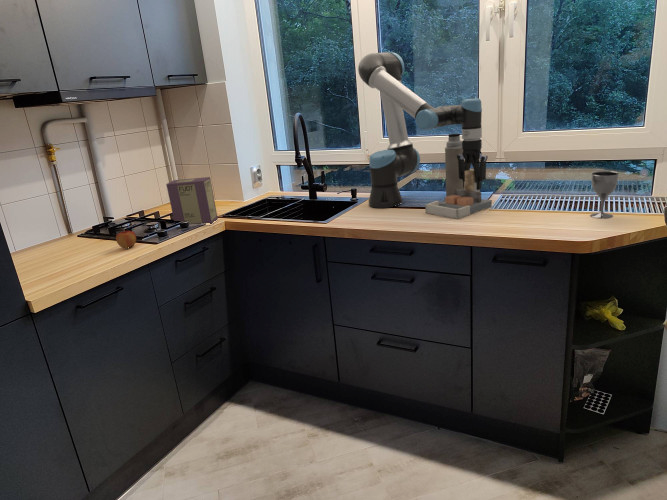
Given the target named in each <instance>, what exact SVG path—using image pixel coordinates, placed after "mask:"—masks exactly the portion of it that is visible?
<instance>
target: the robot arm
mask: <svg viewBox="0 0 667 500" xmlns="http://www.w3.org/2000/svg"><path fill="white" fill-rule="evenodd" d="M357 70H358V74H359V77H360V79H361V80H362V82H364V83H365V84H366V85H367V86H368V87H370V88H371V89H376V90H378V91H379V94H380V97H381V98H380V99H381V103H382V109H383V115H384V120H385V125H386V131H387V136H388V137H387V138H388V142H389V145H388V147H387V148H386V149H382V150H378V151H375V152H373V153H371V154H370V156H369V163H368V164H369V165H368V166H369V175H370V184H371V185H370V187H371V190H370V193H369V199H368V207H371V208H376V209H387V208H393V206H395V205H398V204H400V203H402V204H403V196H402V195H401V192H400V189H399V186H398V178H400V177H403V176H409V175H410V174H413V173H414V172H416V171H417V169H418V168H419V166H420V164H421V155H420V153H419V151H418V150H417V149H416V148H414V146H413V142H411V141H410V140H409V137H408V136H409V135H408V131H407V130H408V129H407V125H406V119H405V113H404V111H405V112H406V113H407V114H408V115H409V116H411V117H412V118H413V119H414V120H415V124H416V126H417V127H418V128H419V129H420V130H421V131H422V130H424V131H425V130H433V129H436V128H440V127H446V126H451V125H452V126H453V125H461V139H462V140H461V141H462V149H463V153H462V154H461V155H457V159H458V170H459V179H462V180H463V188H464V190H465V171H466V170H470V169H471V166H472V169H474V174H475V180H476V181H475V182H474V191H476V192H481V191H480V190H481V189H482V182H483V181H485V180H486V179H487V178H486V177H487V161H488V155H484V154H483V153H482V147H483V146H482V145H483V143H482V129H483V128H482V117H483V116H482V115H483V114H482V112H483V109H482V100H481V98H479V97H477V98H476V97H475V98H466V99H463V100H461V104H458V105H456V104H455V105H439V106H437V107H433V106H432V105H430V104H429V103H428V102H427V101H425V99H422V98H421V97H420V96H419V95H417V94H416V93H415V92H413V91H412V90H411V89H409V88H408V87H407V86H406V85H404V84H403V83H402V82H403V81H402V77H403V75H404V72H405V63H404V60H403V59H402V57H401V56H400V55H399V54H398V53H395V52H390V51H385V52H371V53H367V54H365V55H363V57H362V58H361V59H360V61H359V63H358V69H357ZM398 206H399V205H398ZM395 207H396V206H395Z"/></svg>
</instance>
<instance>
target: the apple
mask: <svg viewBox="0 0 667 500" xmlns="http://www.w3.org/2000/svg"><path fill="white" fill-rule="evenodd" d="M122 229H123V228H120V231H121V232H119V233H117V234H116V236H115V240H116V244H117V245H118V246H119V247H121V248H123V249H124V248H126V249H127V248H128V247H130V248H132V247H131V246H133V247H134V246H135V244H136V243H137V236H136V233H135V232H134V231H132V230H124V231H123V230H122Z"/></svg>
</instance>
